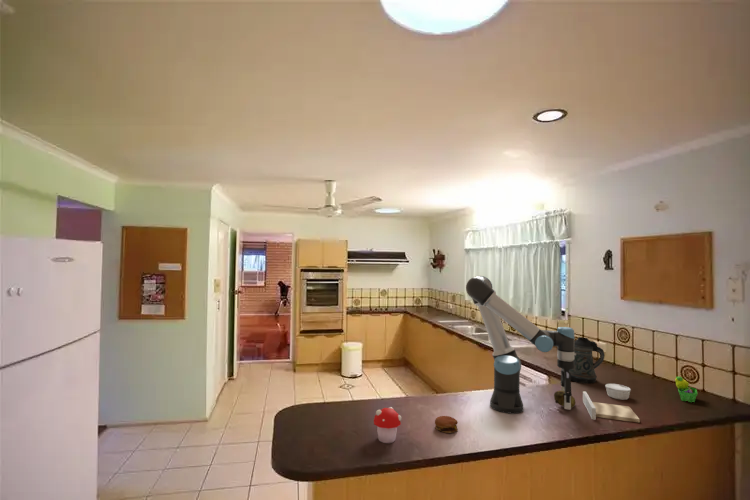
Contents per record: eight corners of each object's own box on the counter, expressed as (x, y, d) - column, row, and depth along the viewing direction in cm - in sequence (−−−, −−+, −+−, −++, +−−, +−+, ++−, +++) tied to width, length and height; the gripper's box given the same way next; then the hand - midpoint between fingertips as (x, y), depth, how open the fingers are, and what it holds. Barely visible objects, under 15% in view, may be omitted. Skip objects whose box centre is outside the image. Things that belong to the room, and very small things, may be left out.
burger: (434, 423, 165) (435, 412, 165) (456, 425, 163) (457, 414, 163) (434, 433, 155) (434, 422, 155) (458, 435, 153) (458, 424, 154)
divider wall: (591, 419, 172) (591, 408, 172) (582, 401, 194) (582, 391, 194) (595, 419, 171) (595, 408, 171) (586, 401, 194) (586, 391, 194)
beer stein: (561, 375, 240) (561, 334, 241) (592, 375, 239) (592, 335, 240) (573, 383, 223) (573, 340, 224) (607, 384, 223) (607, 341, 223)
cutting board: (595, 416, 175) (595, 413, 175) (589, 404, 190) (589, 401, 190) (639, 422, 169) (639, 419, 169) (629, 409, 184) (629, 406, 184)
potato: (583, 409, 184) (583, 392, 184) (560, 411, 180) (560, 394, 181) (570, 402, 192) (570, 386, 192) (548, 404, 188) (548, 388, 189)
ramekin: (635, 399, 199) (635, 389, 199) (620, 401, 195) (620, 391, 195) (615, 392, 209) (615, 382, 209) (600, 394, 205) (600, 384, 205)
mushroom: (399, 433, 154) (400, 403, 155) (402, 446, 144) (402, 413, 144) (373, 433, 154) (373, 402, 154) (373, 446, 143) (374, 413, 144)
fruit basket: (697, 404, 193) (697, 381, 193) (675, 400, 198) (675, 378, 199) (696, 398, 202) (696, 376, 202) (675, 394, 207) (674, 373, 208)
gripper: (578, 366, 174) (578, 414, 174) (570, 354, 197) (570, 397, 196) (560, 364, 177) (560, 412, 176) (554, 353, 199) (554, 395, 199)
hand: (565, 404), depth 186 cm, fingers closed on potato, 12 cm apart
